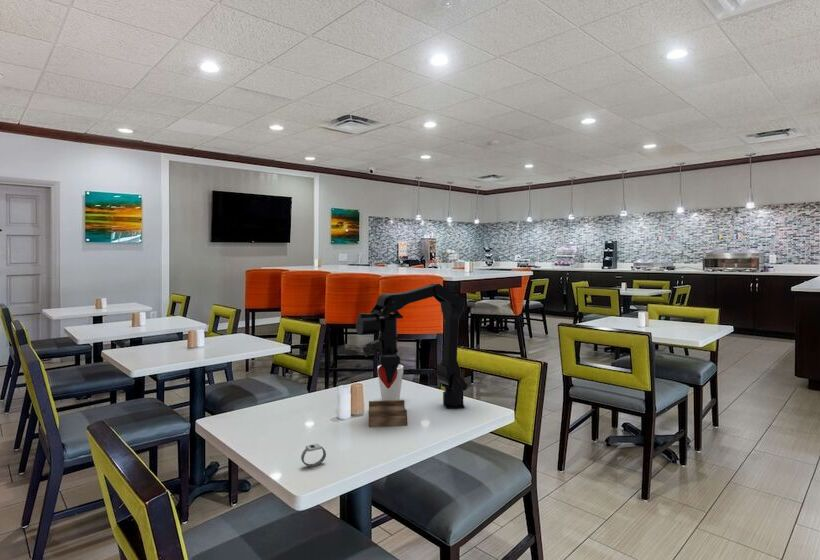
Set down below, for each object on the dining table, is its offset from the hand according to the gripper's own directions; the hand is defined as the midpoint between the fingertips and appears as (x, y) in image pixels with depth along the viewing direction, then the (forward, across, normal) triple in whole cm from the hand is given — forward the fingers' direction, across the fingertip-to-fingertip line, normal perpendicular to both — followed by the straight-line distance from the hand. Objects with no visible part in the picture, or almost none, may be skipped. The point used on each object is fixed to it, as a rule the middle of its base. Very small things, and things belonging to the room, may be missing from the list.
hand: (388, 380), depth 154 cm
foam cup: (+13, -18, +2) cm, 22 cm away
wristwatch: (+13, +33, -21) cm, 41 cm away
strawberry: (+3, 0, 0) cm, 3 cm away
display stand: (+13, -1, 0) cm, 13 cm away
